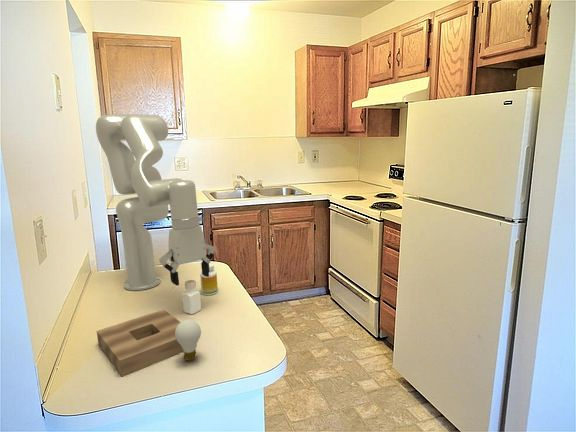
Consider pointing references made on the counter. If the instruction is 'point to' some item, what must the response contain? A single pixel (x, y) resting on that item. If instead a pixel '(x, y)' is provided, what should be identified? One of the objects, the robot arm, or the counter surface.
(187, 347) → the light bulb
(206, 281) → the supplement bottle
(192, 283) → the pepper shaker
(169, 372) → the counter surface
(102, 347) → the socket block
